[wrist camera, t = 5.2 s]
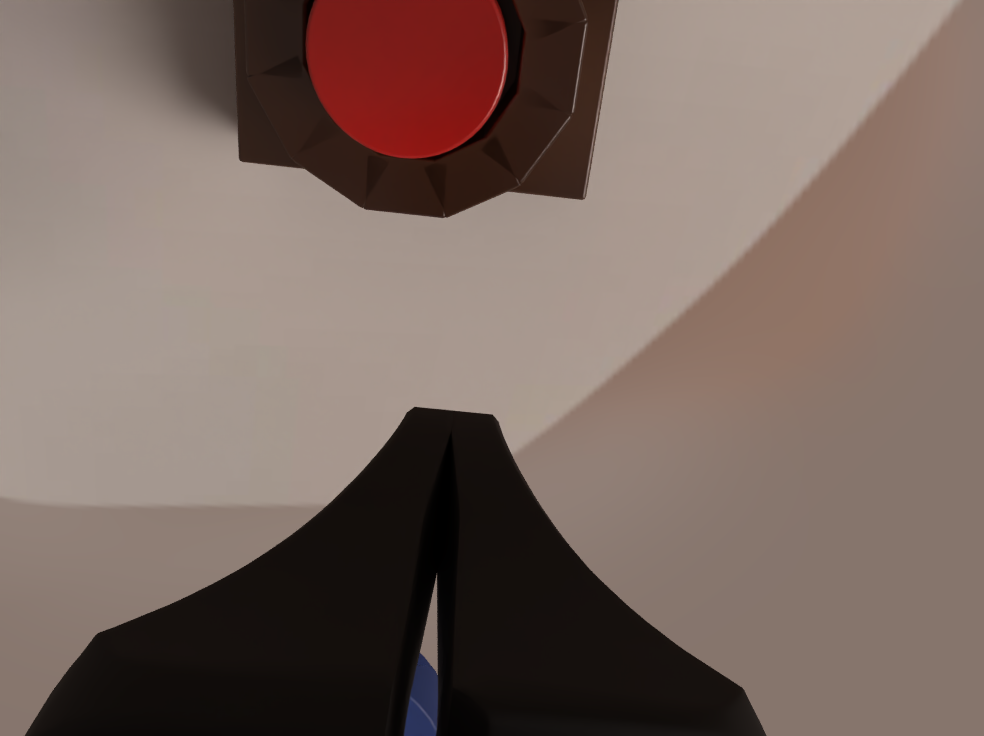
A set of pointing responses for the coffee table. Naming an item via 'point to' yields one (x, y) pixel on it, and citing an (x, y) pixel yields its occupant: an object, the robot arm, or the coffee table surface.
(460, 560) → the robot arm
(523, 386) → the coffee table surface
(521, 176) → the switch box
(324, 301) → the coffee table surface
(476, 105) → the light button
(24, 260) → the coffee table surface
